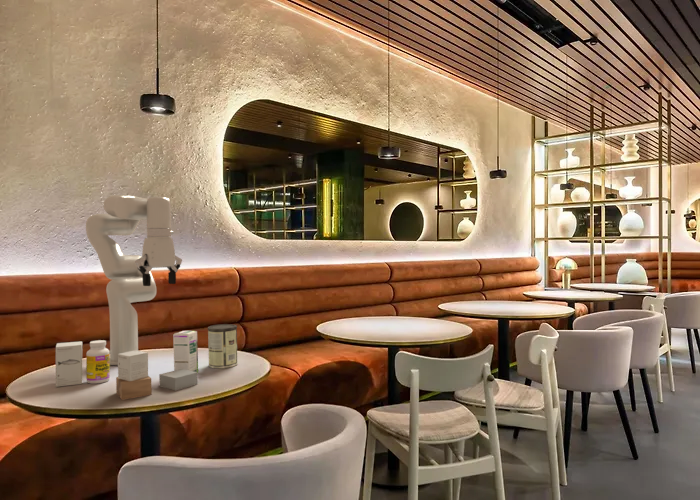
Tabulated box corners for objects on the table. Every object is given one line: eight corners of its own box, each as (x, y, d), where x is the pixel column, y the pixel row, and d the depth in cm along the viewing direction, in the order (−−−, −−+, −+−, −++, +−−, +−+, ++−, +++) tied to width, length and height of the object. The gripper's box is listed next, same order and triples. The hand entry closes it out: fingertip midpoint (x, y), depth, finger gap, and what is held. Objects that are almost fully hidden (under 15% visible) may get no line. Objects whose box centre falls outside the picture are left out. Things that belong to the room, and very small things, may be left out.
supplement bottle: (94, 385, 153) (93, 344, 152) (82, 382, 156) (81, 342, 156) (114, 380, 158) (113, 340, 158) (102, 377, 162) (101, 338, 162)
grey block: (159, 387, 151) (159, 374, 151) (181, 381, 157) (181, 368, 157) (175, 391, 146) (175, 378, 146) (197, 385, 153) (197, 372, 153)
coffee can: (215, 361, 183) (215, 323, 183) (241, 362, 181) (241, 324, 181) (203, 368, 173) (202, 328, 173) (230, 369, 171) (229, 329, 171)
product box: (117, 378, 142) (117, 353, 142) (136, 374, 148) (136, 349, 147) (129, 381, 139) (129, 356, 139) (148, 376, 144) (148, 352, 144)
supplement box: (55, 387, 151) (54, 346, 150) (56, 381, 157) (56, 342, 157) (82, 384, 154) (81, 344, 154) (83, 378, 161) (82, 340, 160)
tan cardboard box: (116, 394, 144) (116, 377, 144) (145, 389, 149) (144, 372, 149) (121, 400, 138) (121, 383, 138) (151, 395, 143) (151, 378, 142)
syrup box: (189, 377, 160) (189, 333, 160) (173, 376, 162) (172, 333, 162) (198, 373, 166) (198, 330, 166) (182, 372, 167) (182, 330, 167)
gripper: (174, 234, 174) (174, 282, 174) (128, 234, 159) (129, 286, 160) (187, 234, 170) (188, 283, 170) (142, 233, 155) (143, 287, 155)
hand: (159, 284), depth 165 cm, fingers open, 9 cm apart
